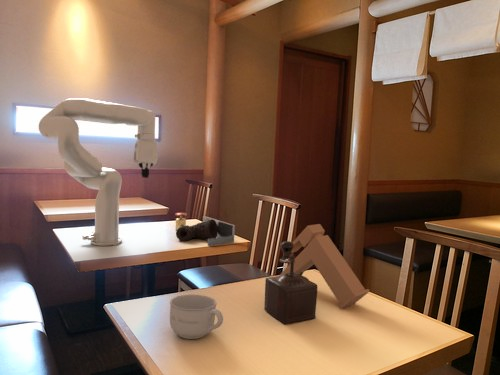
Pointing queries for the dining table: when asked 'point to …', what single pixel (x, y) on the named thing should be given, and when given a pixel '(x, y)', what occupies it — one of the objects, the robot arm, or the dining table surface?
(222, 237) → the grey angle bracket
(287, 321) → the pepper mill
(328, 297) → the dining table surface
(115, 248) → the dining table surface
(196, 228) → the pipe
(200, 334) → the teacup
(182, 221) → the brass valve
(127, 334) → the dining table surface
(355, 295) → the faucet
